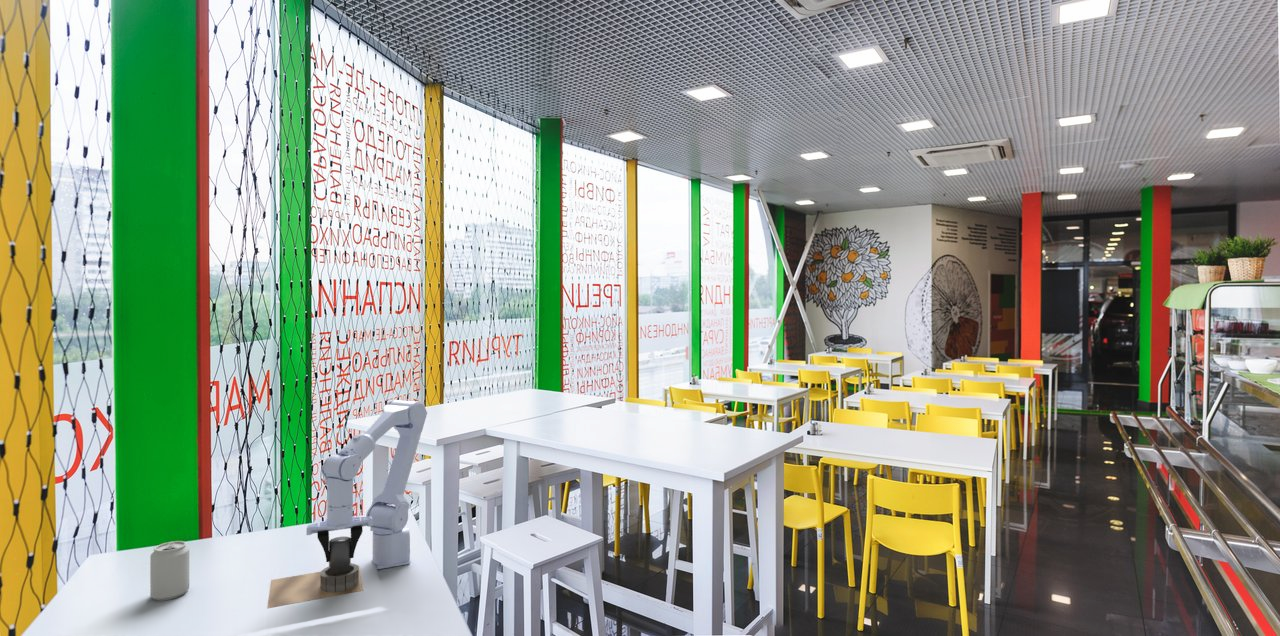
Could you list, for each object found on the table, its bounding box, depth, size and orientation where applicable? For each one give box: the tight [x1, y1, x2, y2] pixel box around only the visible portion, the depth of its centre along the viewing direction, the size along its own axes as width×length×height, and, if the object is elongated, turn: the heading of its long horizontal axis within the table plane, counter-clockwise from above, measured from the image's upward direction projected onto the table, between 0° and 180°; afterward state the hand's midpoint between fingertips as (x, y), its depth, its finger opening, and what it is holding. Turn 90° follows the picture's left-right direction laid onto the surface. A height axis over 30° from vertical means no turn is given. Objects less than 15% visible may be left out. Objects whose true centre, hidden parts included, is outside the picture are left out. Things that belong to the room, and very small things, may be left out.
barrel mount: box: [267, 562, 364, 609], centre depth 152 cm, size 20×16×4 cm
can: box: [149, 540, 190, 601], centre depth 148 cm, size 8×8×12 cm
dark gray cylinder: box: [328, 536, 352, 568], centre depth 152 cm, size 5×5×6 cm
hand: (339, 558), depth 152 cm, fingers closed on dark gray cylinder, 5 cm apart
